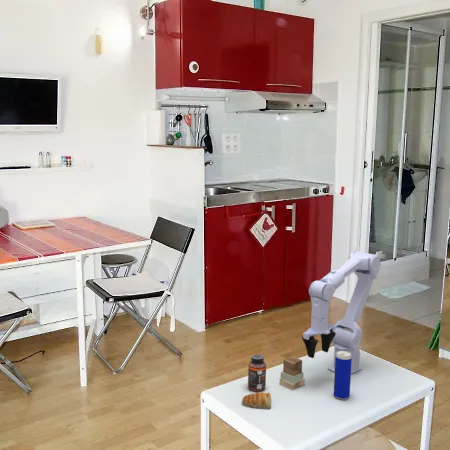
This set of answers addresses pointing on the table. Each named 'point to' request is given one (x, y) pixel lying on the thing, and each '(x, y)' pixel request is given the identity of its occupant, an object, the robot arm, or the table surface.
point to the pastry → (258, 400)
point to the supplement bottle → (257, 373)
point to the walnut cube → (292, 366)
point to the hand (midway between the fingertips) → (318, 354)
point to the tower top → (291, 377)
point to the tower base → (292, 386)
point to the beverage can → (342, 375)
